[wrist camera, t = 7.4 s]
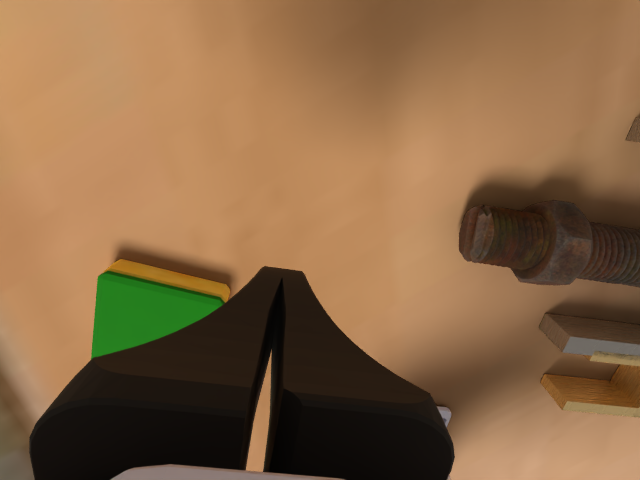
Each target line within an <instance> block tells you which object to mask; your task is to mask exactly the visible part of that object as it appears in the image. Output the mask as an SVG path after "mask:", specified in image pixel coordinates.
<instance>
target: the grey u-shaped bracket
mask: <svg viewBox="0 0 640 480" xmlns="http://www.w3.org/2000/svg"><path fill="white" fill-rule="evenodd" d="M626 140H627V141H633V142H639V143H640V118H636V119H635V121H634V123H633V125H632V127H631V130H630V132H629V134H628V136H627V138H626ZM539 329H540V330H541V331H542V332H543V333H544V334H545V335H546V336H547V337H548V338H549V339H550V340H551V341H552V342H553V343H554V344H555V345H556V346H557V347H558V348H559V349H560V350H561V351H562V352H563V353H572V354H581V355H590V356H592V355H593V353H594V352H595V351H596V352H598V351H600V352H601V351H603V352H605V353H606V352H607V353H608V352H610V353H611V352H612V353H616V354H617V355H618V353H619V354H624V355H625V358H626V356H627V357H628V356H629V355H630V356H631V355H638V356H640V325H639V324H631V323H622V322H614V321H606V320H598V319H590V318H581V317H573V316H565V315H557V314H549V313H545V315H544V318H543V320H542V322H541V324H540V326H539ZM603 352H602V353H603ZM612 353H611V354H610V355H613V354H612ZM600 354H601V353H600ZM608 354H609V353H608ZM608 354H607V355H608ZM627 354H628V355H627ZM604 355H605V354H604ZM614 355H615V354H614ZM605 356H606V355H605ZM600 357H601V356H600ZM607 357H608V356H607ZM614 357H615V356H614ZM616 357H617V356H616ZM619 357H620V356H619ZM621 357H622V358H623V356H622V355H621ZM633 357H634V356H633ZM635 357H636V356H635ZM628 358H629V357H628ZM630 358H631V357H630ZM630 358H629V360H631V359H630ZM637 358H638V357H637ZM639 358H640V357H639ZM623 359H624V358H623ZM626 359H627V358H626ZM632 359H633V358H632ZM634 360H635V359H634ZM637 360H638V359H637ZM639 360H640V359H639Z"/></svg>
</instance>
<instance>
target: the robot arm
mask: <svg viewBox="0 0 640 480" xmlns="http://www.w3.org/2000/svg"><path fill="white" fill-rule="evenodd" d="M271 349H272V361H271V397H270V419H269V429H268V437H267V445H266V453H265V461H264V469H263V472H256V471H246V464H247V458H248V452H249V446H250V440H251V433H252V427H253V421H254V417H255V412H256V407H257V404H258V400H259V396H260V392H261V388H262V384H263V381H264V377H265V373H266V369H267V365H268V361H269V357H270V353H271ZM450 418H451V412H450V410H449V408H447V407H438V406H436V404H435V402H434V401H433V399H432V397H431V395H430V393H428V392H426V391H424V390H422V389H421V388H419V387H417V386H415V385H413V384H412V383H410V382H408V381H406V380H404V379H403V378H401V377H399V376H397V375H396V374H394V373H393V372H391V371H390V370H388V369H387V368H385V367H384V366H382V365H381V364H379V363H378V362H377V361H375V360H374V359H373V358H371V357H370V356H369V355H367V354H366V353H365V352H364V351H363V350H362V349H360V348H359V347H358V346H357V345H356V344H354V343H353V342H352V341H351V340H350V339H349V338H348V337H347V336H346V335H345V334H344V333H343V332H342V331H341V330H340V329H339V328H338V327H337V325H336V324H335V323H334V322H333V321H332V319H331V318H330V317H329V315H328V314H327V313H326V311H325V310H324V309H323V307H322V306H321V304H320V302H319V301H318V299H317V298H316V296H315V294H314V293H313V291H312V289H311V287H310V285H309V283H308V281H307V279H306V277H305V275H304V273H303V272H302V271H296V270H289V269H281V268H274V267H267V266H264V267H263V268H261V269H260V270H259V272H258V273H257V274H256V275H255V276H254V277H253V278H252V279H251V280H250V282H249V283H248V284H246V285H245V286H244V287H243V288H242V289H241V290H240V291H239V292H238V293H237V294H236V295H234V296H233V297H232V298H231V299H229V300H228V301H227V302H226V303H224V304H223V305H222V306H220V307H219V308H218V309H216V310H215V311H213V312H212V313H210V314H209V315H207V316H205V317H204V318H202V319H200V320H198V321H196V322H194V323H192V324H190V325H188V326H186V327H184V328H182V329H180V330H178V331H176V332H173V333H171V334H169V335H166V336H164V337H161V338H159V339H156V340H153V341H150V342H147V343H144V344H141V345H138V346H135V347H132V348H128V349H124V350H121V351H117V352H113V353H110V354H106V355H102V356H98V357H94V358H92V359H91V360H90V362H89V363H88V364H87V365H86V366H85V367H84V368H83V369H82V370H81V371H80V372H79V373H78V374H77V375H76V376H75V377H74V378H73V379H72V380H71V381H70V382H69V384H68V385H67V386H66V387H65V388H64V389H63V391H62V392H61V393H60V394H59V396H58V397H57V398H56V399H55V400H54V402H53V403H52V404H51V405H50V407H49V408H48V409H47V410H46V412H45V413H44V414H43V415H42V416H41V418H40V419H39V420H38V421H37V423H36V424H35V427H34V429H33V431H32V433H31V435H30V451H29V453H30V458H31V463H32V468H33V473H34V479H35V480H451V478H450V475H449V474H450V472H451V469H452V465H453V462H454V458H455V456H454V447H453V442H452V440H451V437H450V435H449V433H448V430H447V425H448V423H449V420H450Z"/></svg>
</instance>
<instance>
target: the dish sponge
mask: <svg viewBox="0 0 640 480" xmlns="http://www.w3.org/2000/svg"><path fill="white" fill-rule="evenodd" d="M229 294H230V289H229V287H228V286H227V285H226V284H223V283H219V282H215V281H211V280H206V279H202V278H198V277H194V276H190V275H186V274H182V273H178V272H173V271H169V270H165V269H161V268H157V267H153V266H149V265H144V264H140V263H136V262H132V261H128V260H124V259H119V260H118V261H116V262H114V263H113V264H112V265H111V266H110V267H108V268H107V269H106V270H105V271H104V273H102V274H101V275H99V276H98V282H97V294H96V306H95V319H94V331H93V343H92V356H91V359H92V358H94V357H98V356H102V355H106V354H110V353H113V352H117V351H121V350H124V349H128V348H132V347H135V346H138V345H141V344H144V343H147V342H150V341H153V340H156V339H159V338H161V337H164V336H166V335H169V334H171V333H173V332H176V331H178V330H180V329H182V328H184V327H186V326H188V325H190V324H192V323H194V322H196V321H198V320H200V319H202V318H204V317H205V316H207V315H209V314H210V313H212V312H213V311H215V310H216V309H218V308H219V307H220V306H222V305H223V304H224V303H226V302H227V301H228V298H229Z"/></svg>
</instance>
